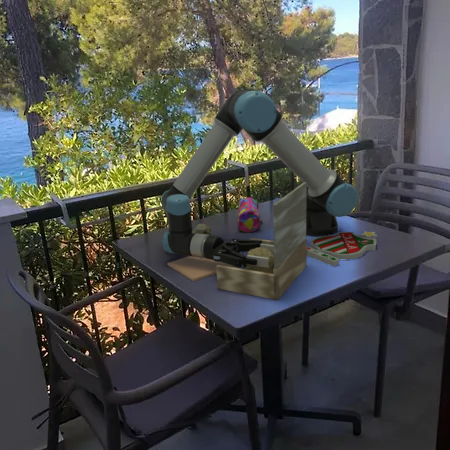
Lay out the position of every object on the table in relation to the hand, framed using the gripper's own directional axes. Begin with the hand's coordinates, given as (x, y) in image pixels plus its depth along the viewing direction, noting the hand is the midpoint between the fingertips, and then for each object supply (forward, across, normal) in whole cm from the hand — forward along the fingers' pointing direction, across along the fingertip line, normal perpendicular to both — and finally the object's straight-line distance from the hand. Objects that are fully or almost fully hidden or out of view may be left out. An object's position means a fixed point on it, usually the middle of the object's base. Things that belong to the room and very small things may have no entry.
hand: (274, 256), depth 139 cm
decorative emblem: (+13, -32, -8) cm, 36 cm away
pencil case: (-28, -43, -8) cm, 52 cm away
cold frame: (-5, 0, -7) cm, 9 cm away
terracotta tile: (-26, 0, -7) cm, 26 cm away
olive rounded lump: (-5, 0, -6) cm, 8 cm away
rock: (-38, -18, -8) cm, 43 cm away
